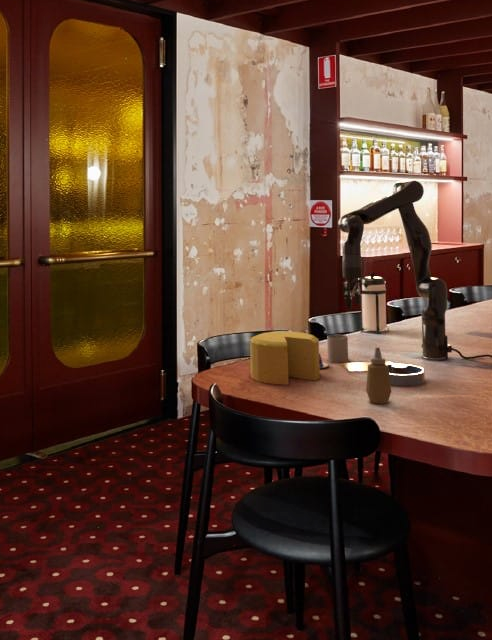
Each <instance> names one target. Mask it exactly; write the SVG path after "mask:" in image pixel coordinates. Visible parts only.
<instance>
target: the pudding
mask: <svg viewBox="0 0 492 640" xmlns="http://www.w3.org/2000/svg"><path fill="white" fill-rule="evenodd" d="M327 367H329V364H328V363H326V362H323V359H322V355H321V354H320V353H319V370H321V369H324V368H327Z"/></svg>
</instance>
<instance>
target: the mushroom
mask: <svg viewBox="0 0 492 640" xmlns="http://www.w3.org/2000/svg"><path fill="white" fill-rule="evenodd" d="M402 364H403V363H394V365H392V372H393V373H396V374H400V375H404V373H407V366H406V365H402Z"/></svg>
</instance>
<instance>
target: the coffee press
mask: <svg viewBox="0 0 492 640" xmlns="http://www.w3.org/2000/svg"><path fill="white" fill-rule="evenodd" d="M369 275H370V276H364V277H362V278H361V279H362V294H361V296H360V328H358V331H359V333H363V332H364V331H366V330H367V331H375V333H376V334H377V335H380V334H381V331H383V330H385V331H386V332H389V331H390V328H389V327H388V326H387V298H386V297H387V296H386V295H387V294H386V293H387V289H386V283H387V281H386V280H385V279H384V278H383V277H382V276H375V275H376V273H375V272H374V271H370V273H369ZM361 329H362V330H361ZM386 329H387V330H386Z"/></svg>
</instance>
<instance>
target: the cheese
mask: <svg viewBox="0 0 492 640" xmlns="http://www.w3.org/2000/svg"><path fill="white" fill-rule="evenodd" d="M249 354H250V356H249V357H250V377H251V379H253V380H255V381H257V382H259V383H264V384H271V385H289V378H297V379H303V380H311V381H317V380H319V379H320V369H319V354H320V340H319V338H318V337H316V336H315V335H313V334H310V333H306V332H301V331H269V332H262V333H259V334H257V335H254V336H252V337H251V338H250V339H249Z"/></svg>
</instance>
